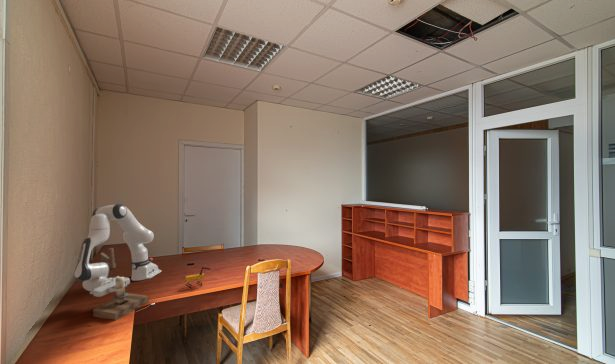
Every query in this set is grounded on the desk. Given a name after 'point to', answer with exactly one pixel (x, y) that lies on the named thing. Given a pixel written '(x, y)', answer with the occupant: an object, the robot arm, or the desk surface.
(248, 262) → the desk surface
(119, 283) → the beech peg
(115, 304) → the peg hole board
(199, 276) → the robot dog
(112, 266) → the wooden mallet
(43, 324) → the desk surface
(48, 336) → the desk surface
